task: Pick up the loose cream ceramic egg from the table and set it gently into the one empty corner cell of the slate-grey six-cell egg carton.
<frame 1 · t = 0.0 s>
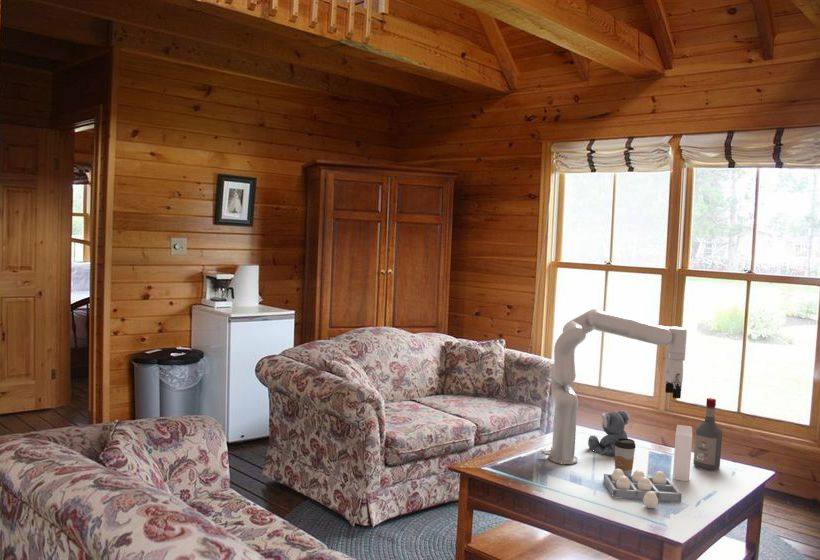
hand: (672, 395, 298), 31 cm above the table, tool pointing down, fingers open, 9 cm apart
coffee cup: (622, 476, 285), on the table
liquor: (706, 467, 301), on the table
carton: (640, 491, 269), on the table
egg: (650, 507, 253), on the table
koala plush: (612, 453, 316), on the table
milk: (680, 478, 286), on the table
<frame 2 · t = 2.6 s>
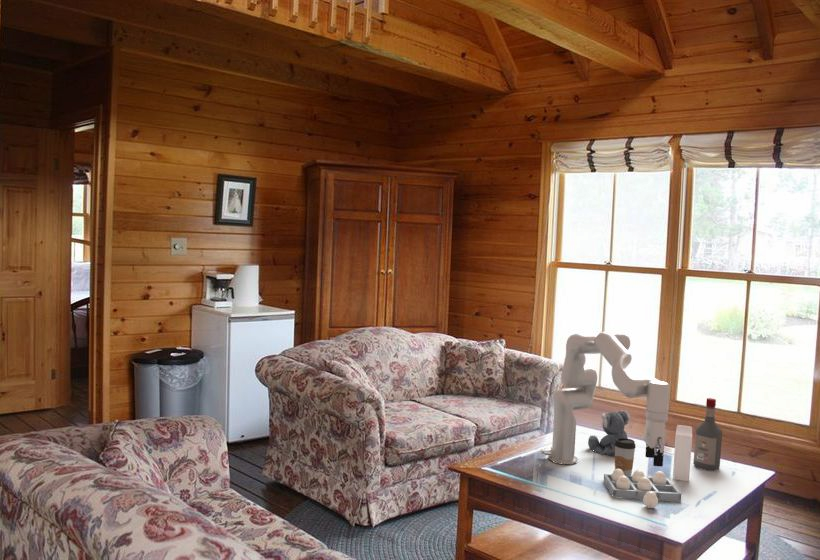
hand: (653, 461, 253), 17 cm above the table, tool pointing down, fingers open, 9 cm apart
nothing on the table moved.
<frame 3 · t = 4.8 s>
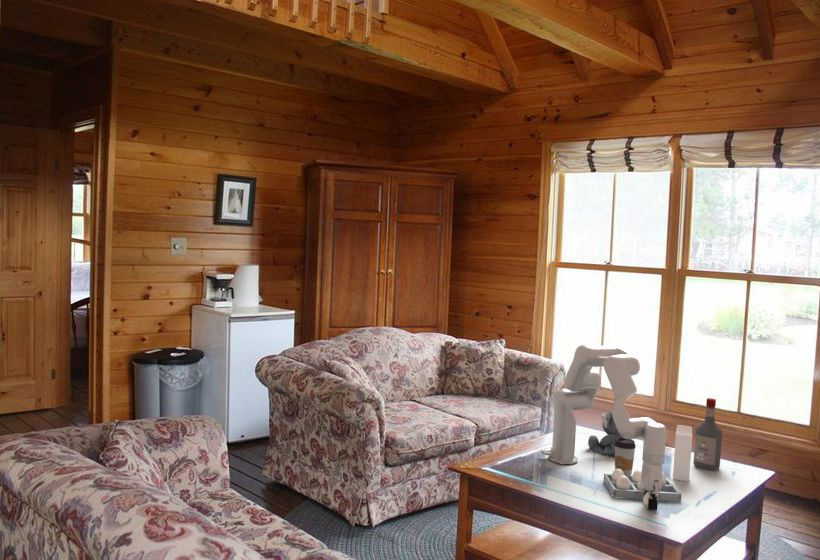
hand: (650, 505, 253), 1 cm above the table, tool pointing down, fingers closed on egg, 5 cm apart
egg: (650, 507, 253), on the table, touching gripper
everything else where it was.
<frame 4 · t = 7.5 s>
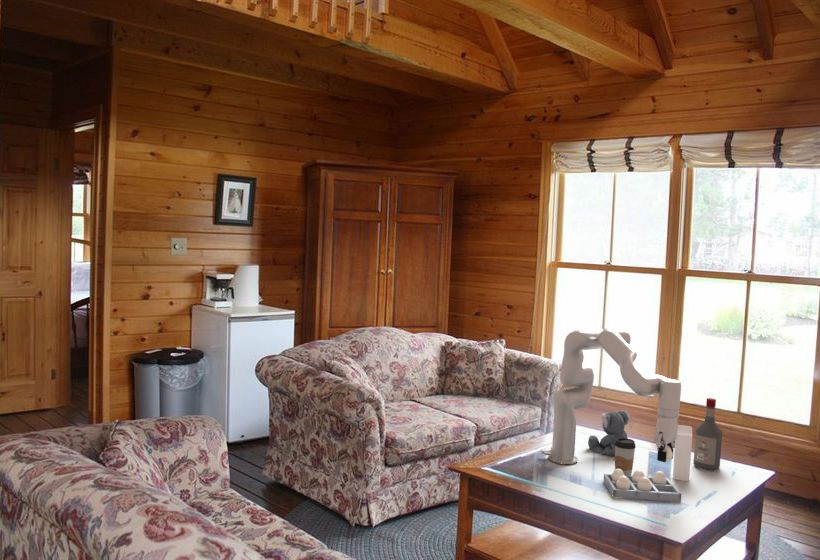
hand: (665, 459, 262), 15 cm above the table, tool pointing down, fingers closed on egg, 5 cm apart
egg: (664, 460, 262), point 15 cm above the table, touching gripper
everything else where it was.
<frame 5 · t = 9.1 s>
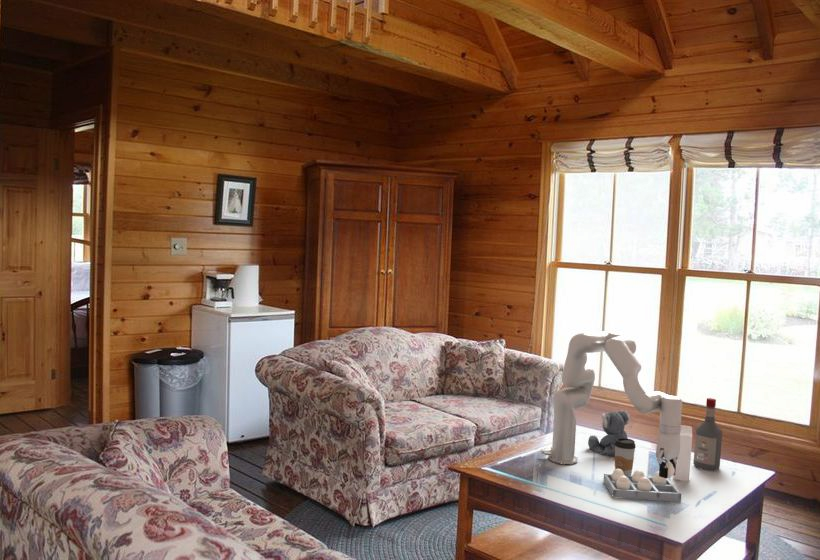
hand: (667, 475, 264), 8 cm above the table, tool pointing down, fingers closed on egg, 5 cm apart
egg: (667, 477, 264), point 8 cm above the table, touching gripper
everything else where it was.
when the fingers open (4 cm above the table, at t = 10.3 s): egg drops 3 cm, resting on carton.
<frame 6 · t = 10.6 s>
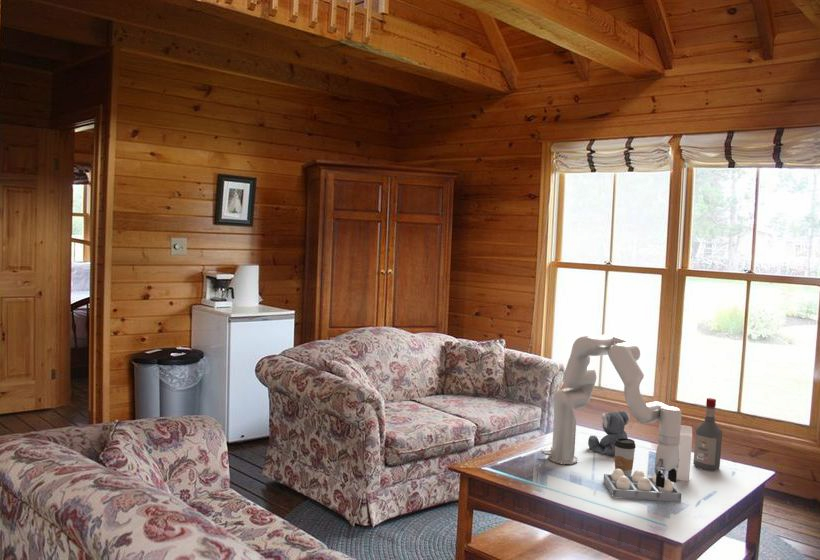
hand: (665, 483, 264), 5 cm above the table, tool pointing down, fingers open, 8 cm apart
egg: (665, 493, 265), point 1 cm above the table, touching carton
everything else where it was.
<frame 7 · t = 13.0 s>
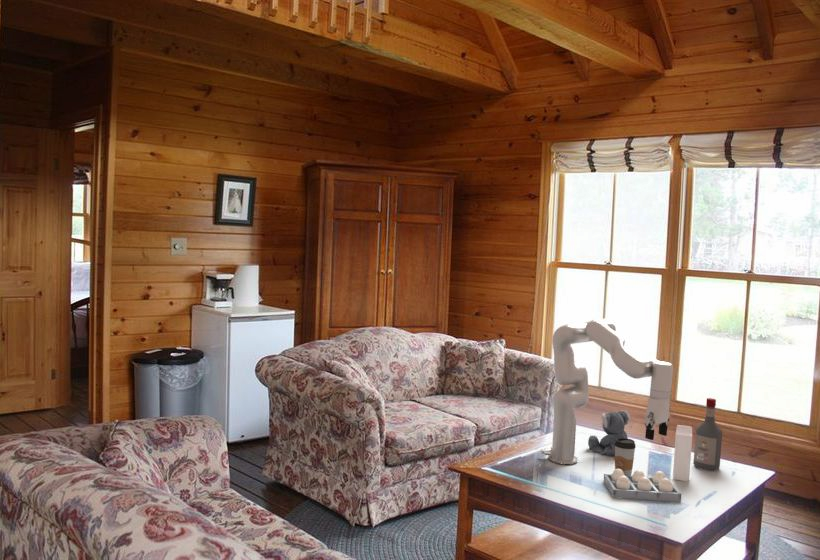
hand: (655, 436, 269), 21 cm above the table, tool pointing down, fingers open, 9 cm apart
nothing on the table moved.
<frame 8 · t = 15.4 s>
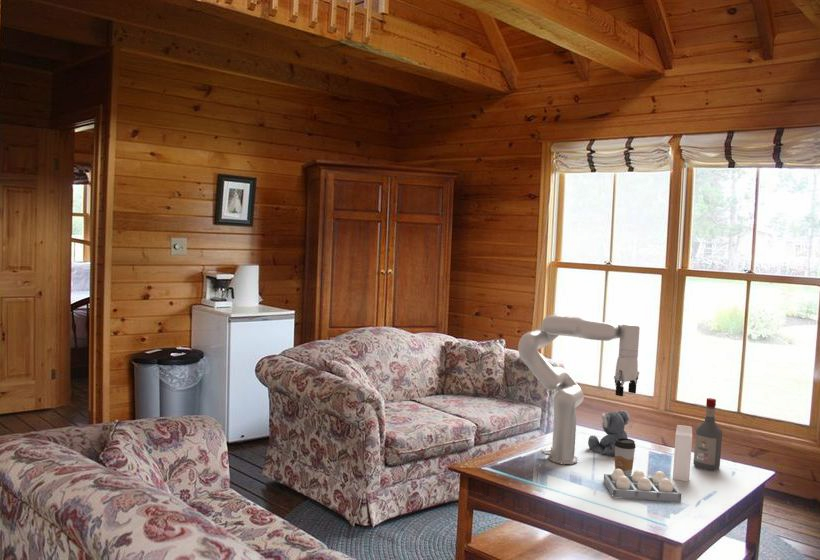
hand: (625, 394, 287), 33 cm above the table, tool pointing down, fingers open, 9 cm apart
nothing on the table moved.
at the end: egg 0.0 cm from the target spot on the carton, point 1.0 cm above the carton's base; the gripper is holding nothing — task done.
